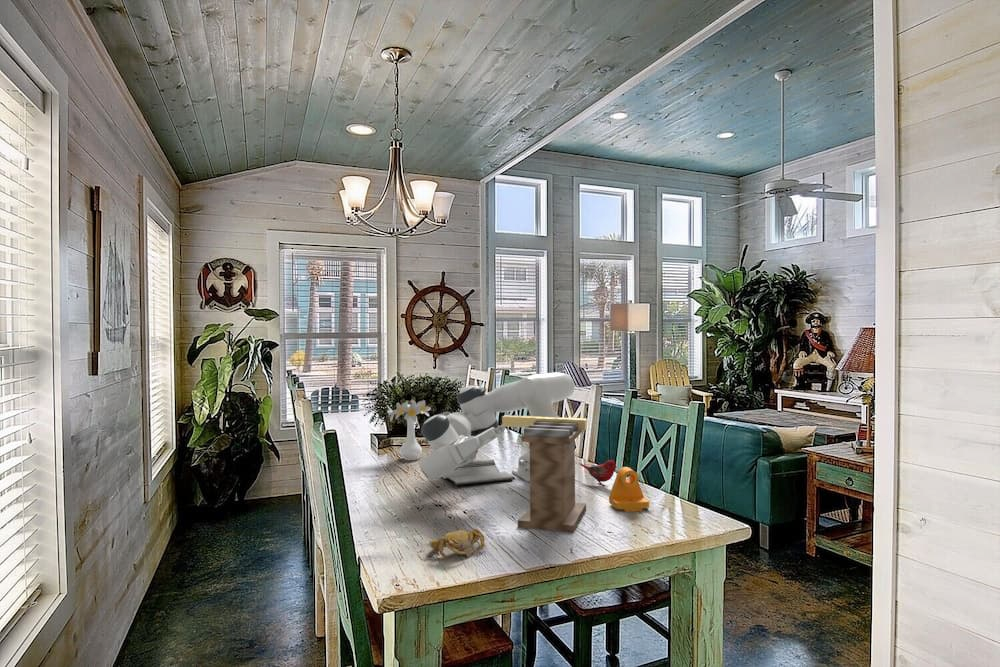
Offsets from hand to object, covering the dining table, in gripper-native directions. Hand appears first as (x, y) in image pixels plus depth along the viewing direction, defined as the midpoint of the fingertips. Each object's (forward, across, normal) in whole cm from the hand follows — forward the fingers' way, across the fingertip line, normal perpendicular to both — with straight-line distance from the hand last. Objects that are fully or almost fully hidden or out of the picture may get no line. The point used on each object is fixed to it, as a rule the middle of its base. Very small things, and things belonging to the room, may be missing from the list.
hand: (499, 429), depth 192 cm
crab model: (-13, +37, -22) cm, 44 cm away
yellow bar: (+13, -1, -6) cm, 14 cm away
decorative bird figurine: (+10, -35, -34) cm, 50 cm away
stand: (+3, +5, -30) cm, 31 cm away
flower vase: (-62, -53, +7) cm, 82 cm away
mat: (-30, -33, -12) cm, 46 cm away
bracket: (+21, -12, -41) cm, 48 cm away
